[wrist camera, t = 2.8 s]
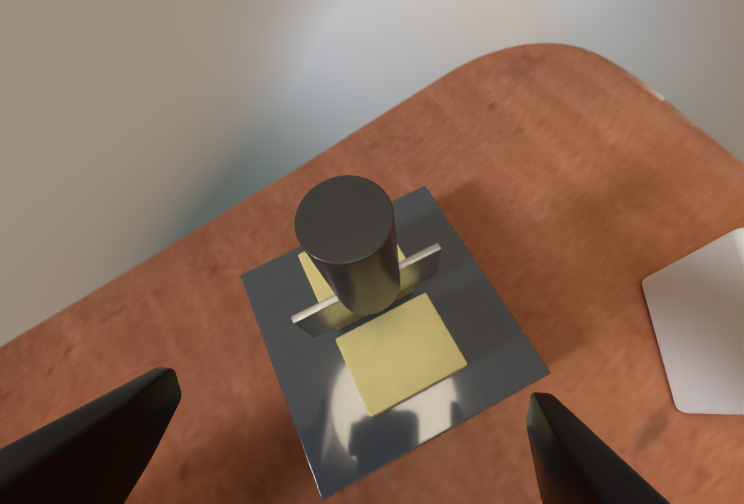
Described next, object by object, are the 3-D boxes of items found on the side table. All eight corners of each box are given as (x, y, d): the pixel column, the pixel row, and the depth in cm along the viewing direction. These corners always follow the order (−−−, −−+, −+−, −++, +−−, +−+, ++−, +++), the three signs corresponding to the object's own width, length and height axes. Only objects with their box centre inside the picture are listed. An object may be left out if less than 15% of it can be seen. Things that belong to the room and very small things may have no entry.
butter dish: (532, 377, 20) (551, 372, 17) (334, 487, 19) (321, 501, 16) (423, 209, 25) (425, 184, 22) (259, 290, 24) (239, 275, 21)
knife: (449, 295, 16) (481, 200, 8) (324, 360, 15) (242, 320, 8) (421, 250, 17) (429, 130, 9) (302, 310, 16) (211, 233, 9)
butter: (459, 370, 18) (468, 364, 15) (377, 415, 17) (370, 417, 15) (384, 238, 21) (380, 213, 18) (312, 274, 20) (297, 254, 18)
